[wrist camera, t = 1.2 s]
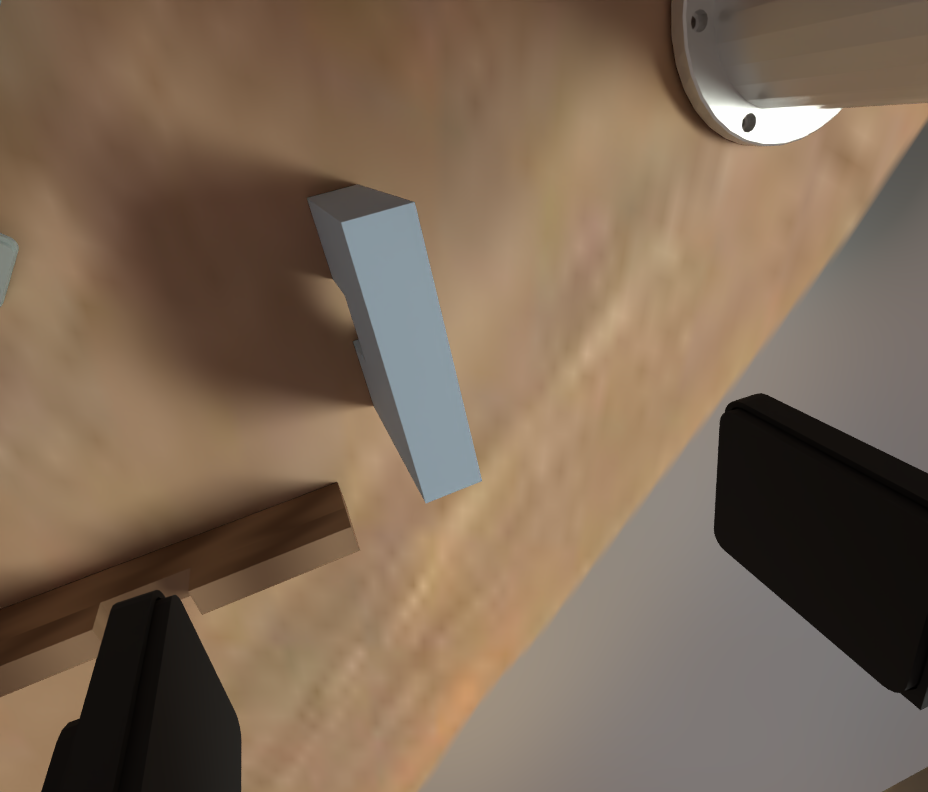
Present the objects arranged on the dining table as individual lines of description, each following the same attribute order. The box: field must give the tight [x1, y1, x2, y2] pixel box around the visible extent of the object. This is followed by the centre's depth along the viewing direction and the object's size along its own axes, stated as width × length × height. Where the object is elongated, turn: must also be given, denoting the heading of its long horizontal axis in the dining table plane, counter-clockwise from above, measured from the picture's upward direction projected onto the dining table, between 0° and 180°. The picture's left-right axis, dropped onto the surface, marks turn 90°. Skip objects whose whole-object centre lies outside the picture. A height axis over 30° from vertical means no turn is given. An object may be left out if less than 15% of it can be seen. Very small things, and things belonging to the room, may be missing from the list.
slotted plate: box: [307, 184, 482, 503], centre depth 23 cm, size 10×2×9 cm, turn 13°
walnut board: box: [0, 483, 360, 697], centre depth 26 cm, size 18×1×4 cm, turn 103°
